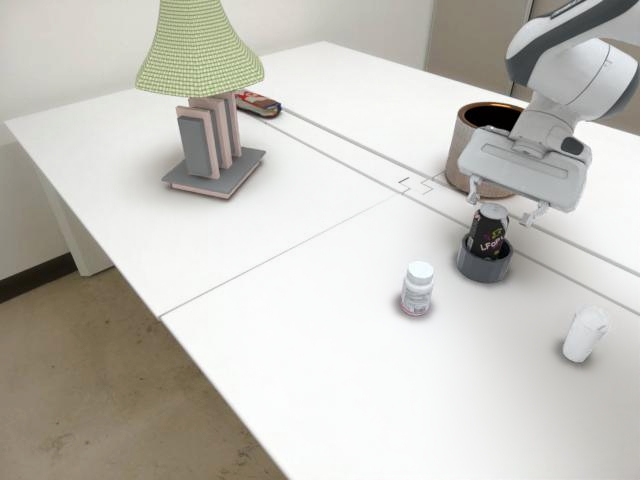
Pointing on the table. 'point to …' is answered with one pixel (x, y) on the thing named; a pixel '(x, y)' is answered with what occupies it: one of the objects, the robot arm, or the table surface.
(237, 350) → the table surface
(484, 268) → the can holder
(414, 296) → the pill bottle
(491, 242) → the beverage can
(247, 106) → the pencil case
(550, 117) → the robot arm
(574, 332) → the milkshake
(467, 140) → the planter
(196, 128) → the desk lamp
